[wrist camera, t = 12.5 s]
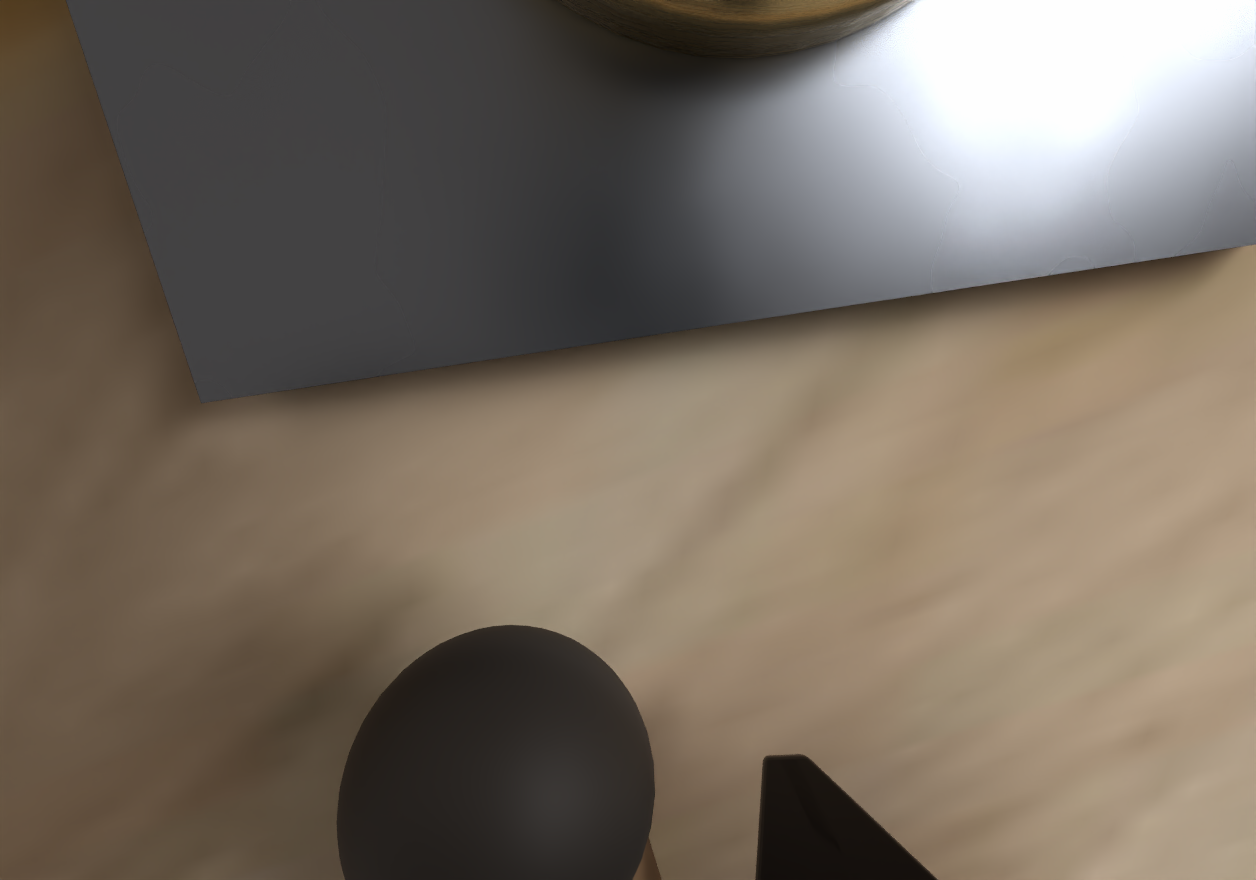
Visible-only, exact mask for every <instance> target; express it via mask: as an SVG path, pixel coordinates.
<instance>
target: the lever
mask: <svg viewBox="0 0 1256 880" xmlns="http://www.w3.org/2000/svg"><path fill="white" fill-rule="evenodd" d="M654 797H655V787H654V763H653V758H652V753H651V748H650V743H649V738H648V734H647V730H646V728H645V725H644V722H643V720H642V717H641V715H640V712H639V710H638V707H637V705H636V703H635V702H634V700H633V698H632V696H631V694H630V693H629V691H628V690H627V688H626V687H625V685H624V684H623V682H622V681H621V680H620V679H619V677H618V676H617V675H616V673H615V672H614V671H613V670H612V669H611V668H610V667H609V666H608V665H607V664H606V663H605V662H604V661H603V660H602V659H601V658H600V657H598V656H597V655H596V654H594V653H593V652H592V651H590V650H589V649H588V648H586V647H585V646H584V645H582V644H580V643H578V642H577V641H575V640H573V639H571V638H569V637H566V636H564V635H562V634H559V633H557V632H553V631H550V630H546V629H542V628H537V627H530V626H519V625H504V626H492V627H487V628H482V629H477V630H474V631H471V632H468V633H464V634H462V635H459V636H456V637H454V638H452V639H450V640H448V641H445V642H443V643H441V644H439V645H437V646H436V647H434V648H433V649H431V650H429V651H428V652H426V653H425V654H423V655H422V656H421V657H419V658H418V659H416V660H415V661H414V662H413V663H412V664H410V665H409V666H408V667H407V668H406V669H404V670H403V671H402V672H401V673H400V674H399V675H398V676H397V678H396V679H395V680H394V681H393V682H392V683H391V684H390V685H389V686H388V687H387V688H386V690H385V691H384V692H383V693H382V694H381V695H380V697H379V698H378V700H377V701H376V703H375V704H374V706H373V707H372V709H371V710H370V712H369V713H368V715H367V717H366V718H365V720H364V721H363V723H362V725H361V728H360V730H359V732H358V734H357V736H356V738H355V740H354V743H353V745H352V748H351V750H350V752H349V755H348V759H347V762H346V766H345V769H344V773H343V777H342V781H341V786H340V792H339V800H338V812H337V837H338V847H339V856H340V861H341V865H342V870H343V874H344V877H345V880H661V877H660V873H659V870H658V867H657V863H656V860H655V857H654V854H653V850H652V847H651V844H650V840H649V837H648V836H649V832H650V829H651V822H652V814H653V806H654Z"/></svg>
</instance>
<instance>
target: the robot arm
mask: <svg viewBox="0 0 1256 880" xmlns="http://www.w3.org/2000/svg"><path fill="white" fill-rule="evenodd" d="M755 880H938V879H937V878H936V877H934V876H933V875H932V874H931V873H930V872H929V871H928V870H927V869H926V868H925V867H924V866H923V865H922V864H921V863H920V862H919V861H918V860H917V859H915V858H914V857H913V856H912V855H911V854H910V853H909V852H908V851H907V850H906V849H905V848H904V847H903V846H902V845H901V844H900V843H899V842H897V841H896V840H895V839H894V838H893V837H892V836H891V835H890V834H889V833H888V832H887V831H886V830H885V829H884V828H883V827H882V826H881V825H879V824H878V823H877V822H876V821H875V820H874V819H873V818H872V817H871V816H870V815H869V814H868V813H867V812H866V811H865V810H864V809H863V808H861V807H860V806H859V805H858V804H857V803H856V802H855V801H854V800H853V799H852V798H851V797H850V796H849V795H848V794H847V793H846V792H845V791H843V790H842V789H841V788H840V787H839V786H838V785H837V784H836V783H835V782H834V781H833V780H832V779H831V778H830V777H829V776H828V775H827V774H825V773H824V772H823V771H822V770H821V769H820V768H819V767H818V766H817V765H816V764H815V763H814V762H813V761H812V760H811V759H809V758H808V757H806V756H805V755H801V754H795V755H769V756H766V757H765V758H764V759H763V767H762V783H761V799H760V815H759V831H758V847H757V863H756V879H755Z"/></svg>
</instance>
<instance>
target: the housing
mask: <svg viewBox="0 0 1256 880" xmlns="http://www.w3.org/2000/svg"><path fill="white" fill-rule="evenodd" d="M557 1H558V2H560V3H561V4H562V5H564V6H565V7H567V8H568V9H570V10H571V11H573V12H574V13H576V14H578V15H580V16H582V17H584V18H586V19H587V20H589V21H591V22H593V23H595V24H597V25H599V26H601V27H603V28H605V29H607V30H609V31H611V32H613V33H615V34H617V35H620V36H623V37H626V38H629V39H632V40H635V41H638V42H641V43H644V44H647V45H650V46H653V47H656V48H659V49H663V50H669V51H674V52H680V53H685V54H691V55H696V56H702V57H726V58H752V57H761V56H769V55H778V54H786V53H792V52H796V51H799V50H803V49H807V48H811V47H814V46H818V45H822V44H825V43H829V42H833V41H835V40H837V39H840V38H842V37H844V36H847V35H849V34H851V33H854V32H856V31H858V30H861V29H863V28H865V27H868V26H870V25H872V24H875V23H876V22H878V21H880V20H881V19H883V18H885V17H886V16H888V15H890V14H891V13H893V12H895V11H896V10H898V9H900V8H901V7H903V6H905V5H906V4H908V3H910V2H911V1H913V0H557Z"/></svg>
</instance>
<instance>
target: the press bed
mask: <svg viewBox="0 0 1256 880" xmlns="http://www.w3.org/2000/svg"><path fill="white" fill-rule="evenodd" d="M66 2H67V5H68V8H69V11H70V14H71V17H72V20H73V23H74V26H75V29H76V32H77V35H78V38H79V41H80V44H81V47H82V50H83V53H84V56H85V59H86V62H87V65H88V68H89V71H90V74H91V77H92V79H93V82H94V85H95V88H96V91H97V94H98V97H99V100H100V103H101V106H102V109H103V112H104V115H105V118H106V121H107V124H108V127H109V130H110V133H111V136H112V139H113V142H114V145H115V148H116V151H117V154H118V157H119V160H120V163H121V166H122V169H123V172H124V175H125V178H126V181H127V184H128V187H129V190H130V193H131V196H132V199H133V202H134V205H135V208H136V211H137V213H138V216H139V219H140V222H141V225H142V228H143V231H144V234H145V237H146V240H147V243H148V246H149V249H150V252H151V255H152V258H153V261H154V264H155V267H156V270H157V273H158V276H159V279H160V282H161V285H162V288H163V291H164V294H165V297H166V300H167V303H168V306H169V309H170V312H171V315H172V318H173V321H174V324H175V327H176V330H177V333H178V336H179V339H180V342H181V345H182V347H183V350H184V353H185V356H186V359H187V362H188V365H189V368H190V371H191V374H192V377H193V380H194V383H195V386H196V389H197V392H198V395H199V398H200V401H201V403H205V402H212V401H219V400H225V399H232V398H239V397H245V396H252V395H259V394H265V393H272V392H278V391H285V390H292V389H298V388H305V387H312V386H318V385H325V384H332V383H338V382H345V381H351V380H358V379H365V378H371V377H378V376H385V375H391V374H398V373H405V372H411V371H418V370H424V369H431V368H438V367H444V366H451V365H458V364H464V363H471V362H478V361H484V360H491V359H497V358H504V357H511V356H517V355H524V354H531V353H537V352H544V351H551V350H557V349H564V348H570V347H577V346H584V345H590V344H597V343H604V342H610V341H617V340H624V339H630V338H637V337H643V336H650V335H657V334H663V333H670V332H677V331H683V330H690V329H697V328H703V327H710V326H716V325H723V324H730V323H736V322H743V321H750V320H756V319H763V318H770V317H776V316H783V315H789V314H796V313H803V312H809V311H816V310H823V309H829V308H836V307H843V306H849V305H856V304H862V303H869V302H876V301H882V300H889V299H896V298H902V297H909V296H916V295H922V294H929V293H935V292H942V291H949V290H955V289H962V288H969V287H975V286H982V285H989V284H995V283H1002V282H1008V281H1015V280H1022V279H1028V278H1035V277H1042V276H1048V275H1055V274H1062V273H1068V272H1075V271H1081V270H1088V269H1095V268H1101V267H1108V266H1115V265H1121V264H1128V263H1135V262H1141V261H1148V260H1154V259H1161V258H1168V257H1174V256H1181V255H1188V254H1194V253H1201V252H1208V251H1214V250H1221V249H1227V248H1234V247H1241V246H1247V245H1254V244H1256V0H913V1H911V2H910V3H908V4H906V5H905V6H903V7H901V8H900V9H898V10H896V11H895V12H893V13H891V14H890V15H888V16H886V17H885V18H883V19H881V20H880V21H878V22H876V23H875V24H872V25H870V26H868V27H865V28H863V29H861V30H858V31H856V32H854V33H851V34H849V35H847V36H844V37H842V38H840V39H837V40H835V41H833V42H829V43H825V44H822V45H818V46H814V47H811V48H807V49H803V50H799V51H796V52H792V53H786V54H778V55H769V56H761V57H752V58H726V57H702V56H696V55H691V54H685V53H680V52H674V51H669V50H663V49H659V48H656V47H653V46H650V45H647V44H644V43H641V42H638V41H635V40H632V39H629V38H626V37H623V36H620V35H617V34H615V33H613V32H611V31H609V30H607V29H605V28H603V27H601V26H599V25H597V24H595V23H593V22H591V21H589V20H587V19H586V18H584V17H582V16H580V15H578V14H576V13H574V12H573V11H571V10H570V9H568V8H567V7H565V6H564V5H562V4H561V3H560V2H558V1H557V0H66Z"/></svg>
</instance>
